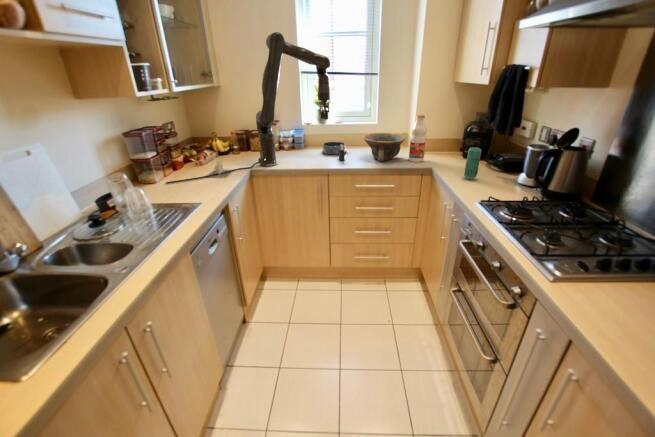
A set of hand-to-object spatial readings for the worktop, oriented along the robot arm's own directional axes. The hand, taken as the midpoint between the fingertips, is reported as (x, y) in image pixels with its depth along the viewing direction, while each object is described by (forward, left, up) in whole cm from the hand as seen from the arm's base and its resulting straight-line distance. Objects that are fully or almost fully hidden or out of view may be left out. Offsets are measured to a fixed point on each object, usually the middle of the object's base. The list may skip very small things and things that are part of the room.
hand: (324, 118), depth 206 cm
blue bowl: (+13, +10, -26) cm, 30 cm away
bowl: (+29, -26, -26) cm, 47 cm away
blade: (+5, -12, -26) cm, 29 cm away
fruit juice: (+44, -41, -26) cm, 66 cm away
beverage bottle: (+39, -85, -26) cm, 97 cm away
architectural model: (-71, +4, -26) cm, 75 cm away
